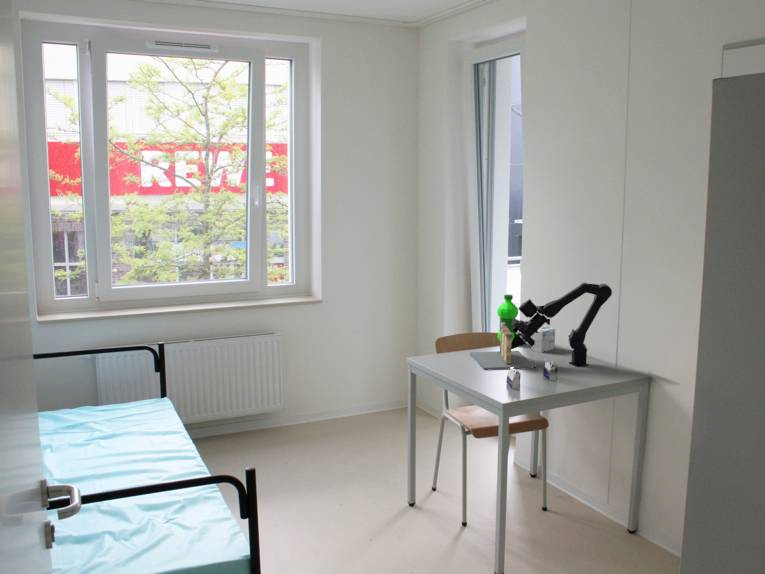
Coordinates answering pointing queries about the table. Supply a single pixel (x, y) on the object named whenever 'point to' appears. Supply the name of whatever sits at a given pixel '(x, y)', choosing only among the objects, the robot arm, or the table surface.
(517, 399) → the table surface
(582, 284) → the robot arm
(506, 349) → the gate panel
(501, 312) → the plastic bottle
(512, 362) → the base
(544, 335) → the light bulb box
